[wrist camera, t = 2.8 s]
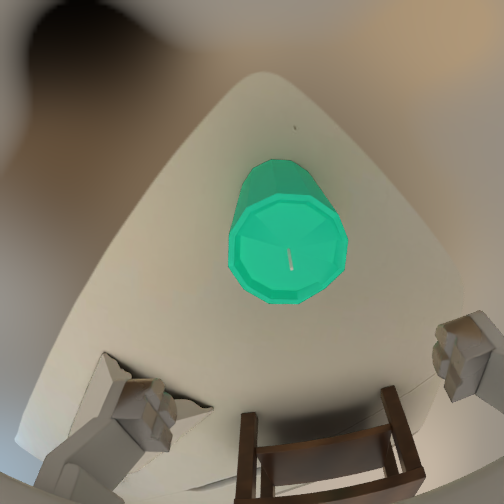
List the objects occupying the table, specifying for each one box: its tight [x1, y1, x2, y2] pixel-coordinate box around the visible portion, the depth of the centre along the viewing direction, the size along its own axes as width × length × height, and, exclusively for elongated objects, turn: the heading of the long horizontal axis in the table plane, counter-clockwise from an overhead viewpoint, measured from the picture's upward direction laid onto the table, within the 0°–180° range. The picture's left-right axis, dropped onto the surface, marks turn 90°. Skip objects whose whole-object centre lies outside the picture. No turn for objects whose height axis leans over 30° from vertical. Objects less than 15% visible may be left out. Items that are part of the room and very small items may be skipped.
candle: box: [228, 159, 348, 304], centre depth 19 cm, size 6×6×12 cm
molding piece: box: [68, 353, 214, 474], centre depth 40 cm, size 32×12×10 cm
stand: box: [234, 385, 426, 504], centre depth 32 cm, size 20×14×14 cm
